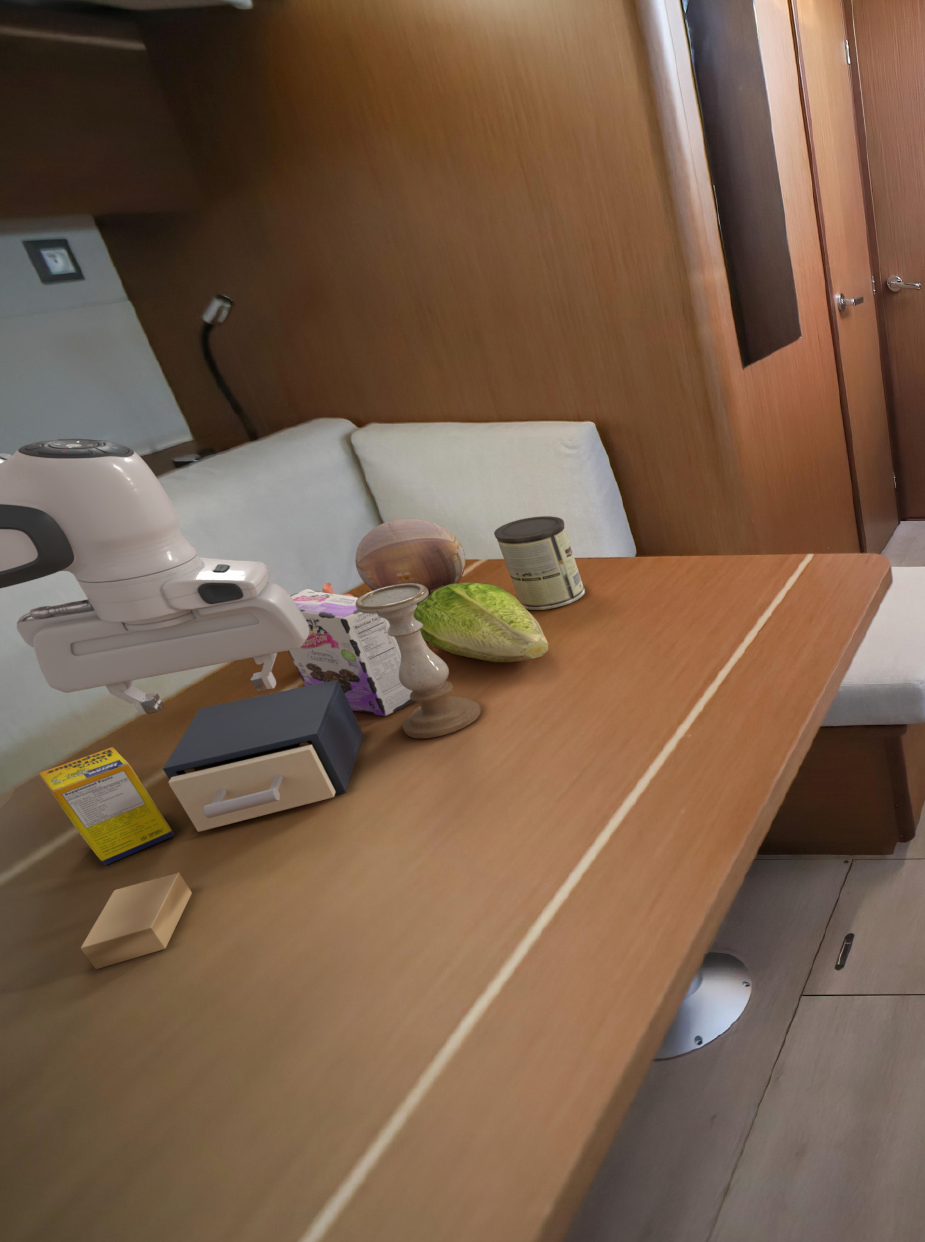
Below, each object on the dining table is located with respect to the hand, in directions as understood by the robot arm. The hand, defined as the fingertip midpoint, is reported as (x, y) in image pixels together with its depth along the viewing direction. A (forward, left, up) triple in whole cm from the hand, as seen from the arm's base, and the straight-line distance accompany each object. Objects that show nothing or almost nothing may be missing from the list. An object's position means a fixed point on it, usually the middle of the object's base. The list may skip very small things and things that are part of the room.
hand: (211, 699), depth 100 cm
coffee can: (+29, +53, -18) cm, 63 cm away
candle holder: (+15, +15, -18) cm, 28 cm away
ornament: (+9, +64, -17) cm, 67 cm away
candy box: (+5, +27, -18) cm, 33 cm away
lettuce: (+21, +35, -18) cm, 44 cm away
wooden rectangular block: (-8, -16, -17) cm, 25 cm away
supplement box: (-13, +3, -18) cm, 22 cm away
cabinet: (-1, +9, -17) cm, 20 cm away
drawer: (-1, +4, -16) cm, 17 cm away
